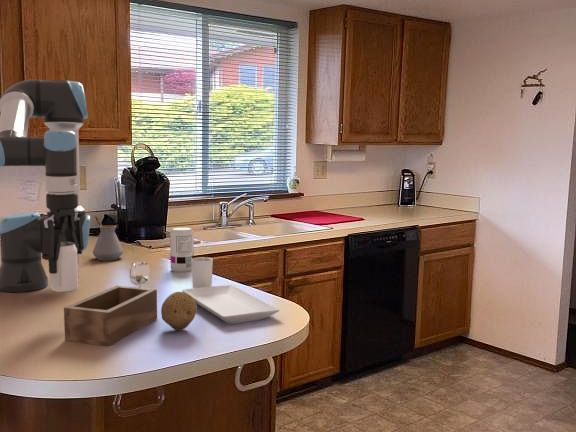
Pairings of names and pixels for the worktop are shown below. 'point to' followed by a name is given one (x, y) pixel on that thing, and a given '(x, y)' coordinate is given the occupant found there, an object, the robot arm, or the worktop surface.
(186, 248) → the supplement can
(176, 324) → the natural sponge
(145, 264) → the wineglass
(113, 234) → the coffee pot
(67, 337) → the narrow open box
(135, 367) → the worktop surface
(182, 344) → the worktop surface
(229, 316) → the tray
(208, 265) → the white cup
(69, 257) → the can
